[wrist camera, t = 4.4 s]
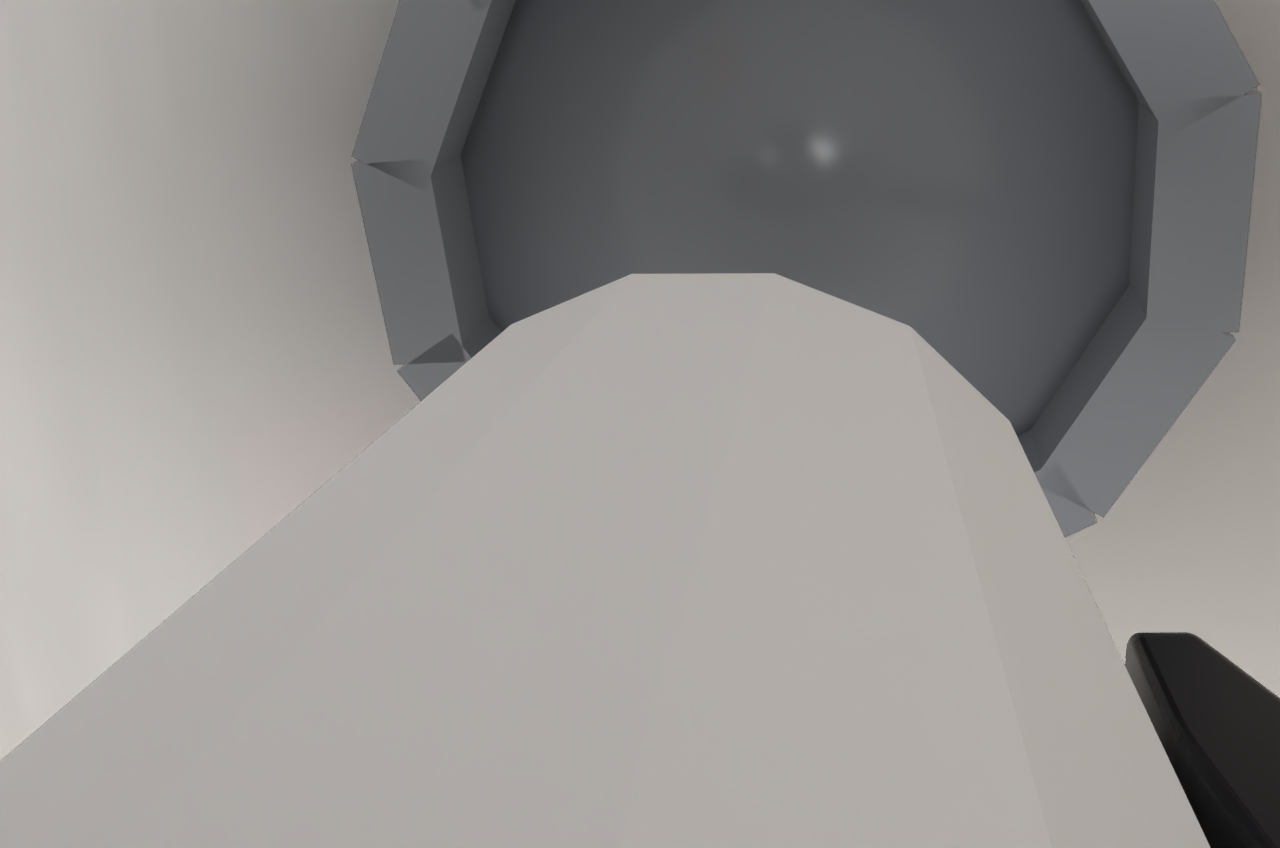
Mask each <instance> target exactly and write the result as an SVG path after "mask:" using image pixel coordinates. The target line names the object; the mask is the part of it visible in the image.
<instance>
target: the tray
mask: <svg viewBox="0 0 1280 848" xmlns="http://www.w3.org/2000/svg"><path fill="white" fill-rule="evenodd" d="M1259 85H1260V84H1259V82H1258V80H1257V78H1256V77H1255V75H1254V73H1253V71H1252V69H1251V67H1250V66H1249V64H1248V62H1247V60H1246V58H1245V56H1244V55H1243V53H1242V51H1241V49H1240V47H1239V45H1238V44H1237V42H1236V40H1235V38H1234V36H1233V34H1232V33H1231V31H1230V29H1229V27H1228V25H1227V23H1226V22H1225V20H1224V18H1223V16H1222V14H1221V12H1220V11H1219V9H1218V7H1217V5H1216V3H1215V1H1214V0H400V2H399V5H398V8H397V12H396V15H395V18H394V21H393V25H392V28H391V31H390V34H389V37H388V41H387V44H386V47H385V50H384V54H383V57H382V60H381V63H380V66H379V70H378V73H377V76H376V79H375V82H374V86H373V89H372V92H371V95H370V99H369V102H368V105H367V108H366V111H365V115H364V118H363V121H362V124H361V128H360V131H359V134H358V137H357V140H356V144H355V147H354V150H353V153H352V156H351V157H353V158H355V159H357V160H358V161H356V162H355V163H353V164H351V166H352V171H353V175H354V180H355V185H356V189H357V194H358V199H359V204H360V208H361V213H362V218H363V222H364V227H365V232H366V236H367V241H368V246H369V251H370V255H371V260H372V265H373V269H374V274H375V279H376V284H377V288H378V293H379V298H380V302H381V307H382V312H383V316H384V321H385V326H386V331H387V335H388V340H389V345H390V349H391V354H392V359H393V363H394V365H396V364H403V365H402V366H401V367H400V368H399V370H398V371H397V372H398V373H399V374H400V376H401V377H402V378H403V379H404V380H405V382H406V383H407V384H408V385H409V387H410V388H411V389H412V390H413V392H414V393H415V394H416V395H417V396H418V398H419V399H420V400H421V401H422V400H423V399H424V398H426V397H427V396H428V395H429V394H430V393H432V392H433V391H434V390H435V389H436V388H437V387H439V386H440V385H441V384H442V383H443V382H444V381H446V380H447V379H448V378H449V377H450V376H451V375H453V374H454V373H455V372H456V371H457V370H458V369H460V368H461V367H462V366H463V365H464V364H465V363H467V362H468V361H469V360H470V359H471V358H472V357H474V356H475V355H476V354H477V353H478V352H479V351H481V350H482V349H483V348H484V347H485V346H487V345H488V344H489V343H490V342H491V341H492V340H494V339H495V338H496V337H497V336H498V335H499V334H501V333H502V332H503V331H504V330H505V329H506V328H508V327H509V326H510V325H511V324H513V323H516V322H518V321H520V320H523V319H525V318H528V317H530V316H532V315H535V314H537V313H540V312H542V311H544V310H547V309H549V308H551V307H554V306H556V305H559V304H561V303H563V302H566V301H568V300H571V299H573V298H575V297H578V296H580V295H582V294H585V293H587V292H590V291H592V290H594V289H597V288H599V287H602V286H604V285H606V284H609V283H611V282H613V281H616V280H618V279H621V278H623V277H625V276H628V275H630V274H706V273H775V274H778V275H780V276H783V277H785V278H788V279H790V280H793V281H796V282H798V283H801V284H803V285H806V286H808V287H811V288H814V289H816V290H819V291H821V292H824V293H826V294H829V295H832V296H834V297H837V298H839V299H842V300H844V301H847V302H849V303H852V304H855V305H857V306H860V307H862V308H865V309H867V310H870V311H873V312H875V313H878V314H880V315H883V316H885V317H888V318H891V319H893V320H896V321H898V322H901V323H903V324H906V325H909V326H910V327H911V328H913V329H914V330H915V331H916V332H917V333H918V334H919V335H920V336H921V337H922V338H923V339H924V340H925V341H926V342H927V343H928V344H929V345H930V346H931V347H932V348H934V349H935V350H936V351H937V352H938V353H939V354H940V355H941V356H942V357H943V358H944V359H945V360H946V361H947V362H948V363H949V364H950V365H951V366H952V367H953V368H955V369H956V370H957V371H958V372H959V373H960V374H961V375H962V376H963V377H964V378H965V379H966V380H967V381H968V382H969V383H970V384H971V385H972V386H973V387H974V388H976V389H977V390H978V391H979V392H980V393H981V394H982V395H983V396H984V397H985V398H986V399H987V400H988V401H989V402H990V403H991V404H992V405H993V406H994V407H995V408H997V409H998V410H999V411H1000V412H1001V413H1002V414H1003V415H1004V416H1005V417H1006V418H1007V419H1008V420H1009V421H1010V422H1011V425H1012V427H1013V429H1014V431H1015V433H1016V435H1017V437H1018V439H1019V442H1020V444H1021V446H1022V448H1023V450H1024V452H1025V454H1026V456H1027V459H1028V461H1029V463H1030V465H1031V467H1032V469H1033V471H1034V473H1035V476H1036V478H1037V480H1038V482H1039V484H1040V486H1041V488H1042V490H1043V493H1044V495H1045V497H1046V499H1047V501H1048V503H1049V505H1050V507H1051V510H1052V512H1053V514H1054V516H1055V518H1056V520H1057V522H1058V524H1059V527H1060V529H1061V531H1062V533H1063V535H1064V537H1067V536H1069V535H1072V534H1074V533H1076V532H1078V531H1080V530H1082V529H1084V528H1086V527H1089V526H1091V525H1093V524H1095V523H1097V519H1096V516H1095V513H1096V514H1098V515H1100V516H1102V517H1104V516H1105V515H1106V513H1107V512H1108V511H1109V509H1110V508H1111V507H1112V505H1113V504H1114V503H1115V501H1116V500H1117V499H1118V497H1119V496H1120V495H1121V493H1122V492H1123V491H1124V489H1125V488H1126V487H1127V485H1128V484H1129V483H1130V481H1131V480H1132V479H1133V477H1134V476H1135V474H1136V473H1137V472H1138V470H1139V469H1140V468H1141V466H1142V465H1143V464H1144V462H1145V461H1146V460H1147V458H1148V457H1149V456H1150V454H1151V453H1152V452H1153V450H1154V449H1155V448H1156V446H1157V445H1158V444H1159V442H1160V441H1161V440H1162V438H1163V437H1164V436H1165V434H1166V433H1167V432H1168V430H1169V429H1170V428H1171V426H1172V425H1173V423H1174V422H1175V421H1176V419H1177V418H1178V417H1179V415H1180V414H1181V413H1182V411H1183V410H1184V409H1185V407H1186V406H1187V405H1188V403H1189V402H1190V401H1191V399H1192V398H1193V397H1194V395H1195V394H1196V393H1197V391H1198V390H1199V389H1200V387H1201V386H1202V385H1203V383H1204V382H1205V381H1206V379H1207V378H1208V376H1209V375H1210V374H1211V372H1212V371H1213V370H1214V368H1215V367H1216V366H1217V364H1218V363H1219V362H1220V360H1221V359H1222V358H1223V356H1224V355H1225V354H1226V352H1227V351H1228V350H1229V348H1230V347H1231V346H1232V344H1233V343H1234V342H1235V340H1236V339H1235V338H1234V336H1233V335H1232V334H1231V332H1239V327H1240V316H1241V306H1242V295H1243V285H1244V274H1245V264H1246V253H1247V243H1248V232H1249V222H1250V212H1251V201H1252V191H1253V180H1254V170H1255V159H1256V149H1257V138H1258V128H1259V117H1260V107H1261V97H1262V94H1261V93H1260V92H1258V91H1257V90H1255V89H1254V88H1255V87H1257V86H1259Z"/></svg>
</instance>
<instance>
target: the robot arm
mask: <svg viewBox="0 0 1280 848" xmlns="http://www.w3.org/2000/svg"><path fill="white" fill-rule="evenodd" d="M1125 667H1126V669H1127V671H1128V673H1129V675H1130V677H1131V680H1132V682H1133V684H1134V686H1135V688H1136V690H1137V692H1138V694H1139V697H1140V699H1141V701H1142V703H1143V705H1144V707H1145V709H1146V711H1147V714H1148V716H1149V718H1150V720H1151V722H1152V724H1153V726H1154V728H1155V731H1156V733H1157V735H1158V737H1159V739H1160V741H1161V743H1162V745H1163V748H1164V750H1165V752H1166V754H1167V756H1168V758H1169V760H1170V763H1171V765H1172V767H1173V769H1174V771H1175V773H1176V775H1177V777H1178V780H1179V782H1180V784H1181V786H1182V788H1183V790H1184V792H1185V794H1186V797H1187V799H1188V801H1189V803H1190V805H1191V807H1192V809H1193V811H1194V814H1195V816H1196V818H1197V820H1198V822H1199V824H1200V826H1201V828H1202V831H1203V833H1204V835H1205V837H1206V839H1207V841H1208V843H1209V845H1210V848H1280V698H1279V697H1278V696H1276V695H1275V694H1274V693H1272V692H1271V691H1270V690H1268V689H1267V688H1266V687H1264V686H1263V685H1262V684H1260V683H1259V682H1258V681H1256V680H1255V679H1254V678H1252V677H1251V676H1250V675H1248V674H1247V673H1246V672H1245V671H1243V670H1242V669H1241V668H1239V667H1238V666H1237V665H1235V664H1234V663H1233V662H1231V661H1230V660H1229V659H1227V658H1226V657H1225V656H1223V655H1222V654H1221V653H1219V652H1218V651H1217V650H1215V649H1214V648H1213V647H1211V646H1210V645H1209V644H1208V643H1206V642H1205V641H1204V640H1202V639H1201V638H1199V637H1198V636H1196V635H1194V634H1191V633H1136V634H1134V635H1133V636H1131V638H1130V640H1129V641H1128V643H1127V648H1126V662H1125Z"/></svg>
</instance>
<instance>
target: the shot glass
mask: <svg viewBox="0 0 1280 848" xmlns="http://www.w3.org/2000/svg"><path fill="white" fill-rule="evenodd" d="M0 848H1210V845H1209V843H1208V841H1207V839H1206V837H1205V835H1204V833H1203V831H1202V828H1201V826H1200V824H1199V822H1198V820H1197V818H1196V816H1195V814H1194V811H1193V809H1192V807H1191V805H1190V803H1189V801H1188V799H1187V797H1186V794H1185V792H1184V790H1183V788H1182V786H1181V784H1180V782H1179V780H1178V777H1177V775H1176V773H1175V771H1174V769H1173V767H1172V765H1171V763H1170V760H1169V758H1168V756H1167V754H1166V752H1165V750H1164V748H1163V745H1162V743H1161V741H1160V739H1159V737H1158V735H1157V733H1156V731H1155V728H1154V726H1153V724H1152V722H1151V720H1150V718H1149V716H1148V714H1147V711H1146V709H1145V707H1144V705H1143V703H1142V701H1141V699H1140V697H1139V694H1138V692H1137V690H1136V688H1135V686H1134V684H1133V682H1132V680H1131V677H1130V675H1129V673H1128V671H1127V669H1126V667H1125V665H1124V663H1123V660H1122V658H1121V656H1120V654H1119V652H1118V650H1117V648H1116V646H1115V643H1114V641H1113V639H1112V637H1111V635H1110V633H1109V631H1108V629H1107V626H1106V624H1105V622H1104V620H1103V618H1102V616H1101V614H1100V612H1099V609H1098V607H1097V605H1096V603H1095V601H1094V599H1093V597H1092V595H1091V592H1090V590H1089V588H1088V586H1087V584H1086V582H1085V580H1084V578H1083V575H1082V573H1081V571H1080V569H1079V567H1078V565H1077V563H1076V561H1075V558H1074V556H1073V554H1072V552H1071V550H1070V548H1069V546H1068V544H1067V541H1066V539H1065V537H1064V535H1063V533H1062V531H1061V529H1060V527H1059V524H1058V522H1057V520H1056V518H1055V516H1054V514H1053V512H1052V510H1051V507H1050V505H1049V503H1048V501H1047V499H1046V497H1045V495H1044V493H1043V490H1042V488H1041V486H1040V484H1039V482H1038V480H1037V478H1036V476H1035V473H1034V471H1033V469H1032V467H1031V465H1030V463H1029V461H1028V459H1027V456H1026V454H1025V452H1024V450H1023V448H1022V446H1021V444H1020V442H1019V439H1018V437H1017V435H1016V433H1015V431H1014V429H1013V427H1012V425H1011V422H1010V421H1009V420H1008V419H1007V418H1006V417H1005V416H1004V415H1003V414H1002V413H1001V412H1000V411H999V410H998V409H997V408H995V407H994V406H993V405H992V404H991V403H990V402H989V401H988V400H987V399H986V398H985V397H984V396H983V395H982V394H981V393H980V392H979V391H978V390H977V389H976V388H974V387H973V386H972V385H971V384H970V383H969V382H968V381H967V380H966V379H965V378H964V377H963V376H962V375H961V374H960V373H959V372H958V371H957V370H956V369H955V368H953V367H952V366H951V365H950V364H949V363H948V362H947V361H946V360H945V359H944V358H943V357H942V356H941V355H940V354H939V353H938V352H937V351H936V350H935V349H934V348H932V347H931V346H930V345H929V344H928V343H927V342H926V341H925V340H924V339H923V338H922V337H921V336H920V335H919V334H918V333H917V332H916V331H915V330H914V329H913V328H911V327H910V326H909V325H906V324H903V323H901V322H898V321H896V320H893V319H891V318H888V317H885V316H883V315H880V314H878V313H875V312H873V311H870V310H867V309H865V308H862V307H860V306H857V305H855V304H852V303H849V302H847V301H844V300H842V299H839V298H837V297H834V296H832V295H829V294H826V293H824V292H821V291H819V290H816V289H814V288H811V287H808V286H806V285H803V284H801V283H798V282H796V281H793V280H790V279H788V278H785V277H783V276H780V275H778V274H775V273H706V274H630V275H628V276H625V277H623V278H621V279H618V280H616V281H613V282H611V283H609V284H606V285H604V286H602V287H599V288H597V289H594V290H592V291H590V292H587V293H585V294H582V295H580V296H578V297H575V298H573V299H571V300H568V301H566V302H563V303H561V304H559V305H556V306H554V307H551V308H549V309H547V310H544V311H542V312H540V313H537V314H535V315H532V316H530V317H528V318H525V319H523V320H520V321H518V322H516V323H513V324H511V325H510V326H509V327H508V328H506V329H505V330H504V331H503V332H502V333H501V334H499V335H498V336H497V337H496V338H495V339H494V340H492V341H491V342H490V343H489V344H488V345H487V346H485V347H484V348H483V349H482V350H481V351H479V352H478V353H477V354H476V355H475V356H474V357H472V358H471V359H470V360H469V361H468V362H467V363H465V364H464V365H463V366H462V367H461V368H460V369H458V370H457V371H456V372H455V373H454V374H453V375H451V376H450V377H449V378H448V379H447V380H446V381H444V382H443V383H442V384H441V385H440V386H439V387H437V388H436V389H435V390H434V391H433V392H432V393H430V394H429V395H428V396H427V397H426V398H424V399H423V400H422V401H421V402H420V403H419V404H417V405H416V406H415V407H414V408H413V409H412V410H410V411H409V412H408V413H407V414H406V415H405V416H403V417H402V418H401V419H400V420H399V421H398V422H396V423H395V424H394V425H393V426H392V427H391V428H389V429H388V430H387V431H386V432H385V433H384V434H382V435H381V436H380V437H379V438H378V439H376V440H375V441H374V442H373V443H372V444H371V445H369V446H368V447H367V448H366V449H365V450H364V451H362V452H361V453H360V454H359V455H358V456H357V457H355V458H354V459H353V460H352V461H351V462H350V463H348V464H347V465H346V466H345V467H344V468H343V469H341V470H340V471H339V472H338V473H337V474H336V475H334V476H333V477H332V478H331V479H330V480H329V481H327V482H326V483H325V484H324V485H323V486H321V487H320V488H319V489H318V490H317V491H316V492H314V493H313V494H312V495H311V496H310V497H309V498H307V499H306V500H305V501H304V502H303V503H302V504H300V505H299V506H298V507H297V508H296V509H295V510H293V511H292V512H291V513H290V514H289V515H288V516H286V517H285V518H284V519H283V520H282V521H281V522H279V523H278V524H277V525H276V526H275V527H274V528H272V529H271V530H270V531H269V532H268V533H266V534H265V535H264V536H263V537H262V538H261V539H259V540H258V541H257V542H256V543H255V544H254V545H252V546H251V547H250V548H249V549H248V550H247V551H245V552H244V553H243V554H242V555H241V556H240V557H238V558H237V559H236V560H235V561H234V562H233V563H231V564H230V565H229V566H228V567H227V568H226V569H224V570H223V571H222V572H221V573H220V574H218V575H217V576H216V577H215V578H214V579H213V580H211V581H210V582H209V583H208V584H207V585H206V586H204V587H203V588H202V589H201V590H200V591H199V592H197V593H196V594H195V595H194V596H193V597H192V598H190V599H189V600H188V601H187V602H186V603H185V604H183V605H182V606H181V607H180V608H179V609H178V610H176V611H175V612H174V613H173V614H172V615H171V616H169V617H168V618H167V619H166V620H165V621H163V622H162V623H161V624H160V625H159V626H158V627H156V628H155V629H154V630H153V631H152V632H151V633H149V634H148V635H147V636H146V637H145V638H144V639H142V640H141V641H140V642H139V643H138V644H137V645H135V646H134V647H133V648H132V649H131V650H130V651H128V652H127V653H126V654H125V655H124V656H123V657H121V658H120V659H119V660H118V661H117V662H115V663H114V664H113V665H112V666H111V667H110V668H108V669H107V670H106V671H105V672H104V673H103V674H101V675H100V676H99V677H98V678H97V679H96V680H94V681H93V682H92V683H91V684H90V685H89V686H87V687H86V688H85V689H84V690H83V691H82V692H80V693H79V694H78V695H77V696H76V697H75V698H73V699H72V700H71V701H70V702H69V703H68V704H66V705H65V706H64V707H63V708H62V709H60V710H59V711H58V712H57V713H56V714H55V715H53V716H52V717H51V718H50V719H49V720H48V721H46V722H45V723H44V724H43V725H42V726H41V727H39V728H38V729H37V730H36V731H35V732H34V733H32V734H31V735H30V736H29V737H28V738H27V739H25V740H24V741H23V742H22V743H21V744H20V745H18V746H17V747H16V748H15V749H14V750H13V751H11V752H10V753H9V754H8V755H7V756H5V757H4V758H3V759H2V760H1V761H0Z"/></svg>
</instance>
